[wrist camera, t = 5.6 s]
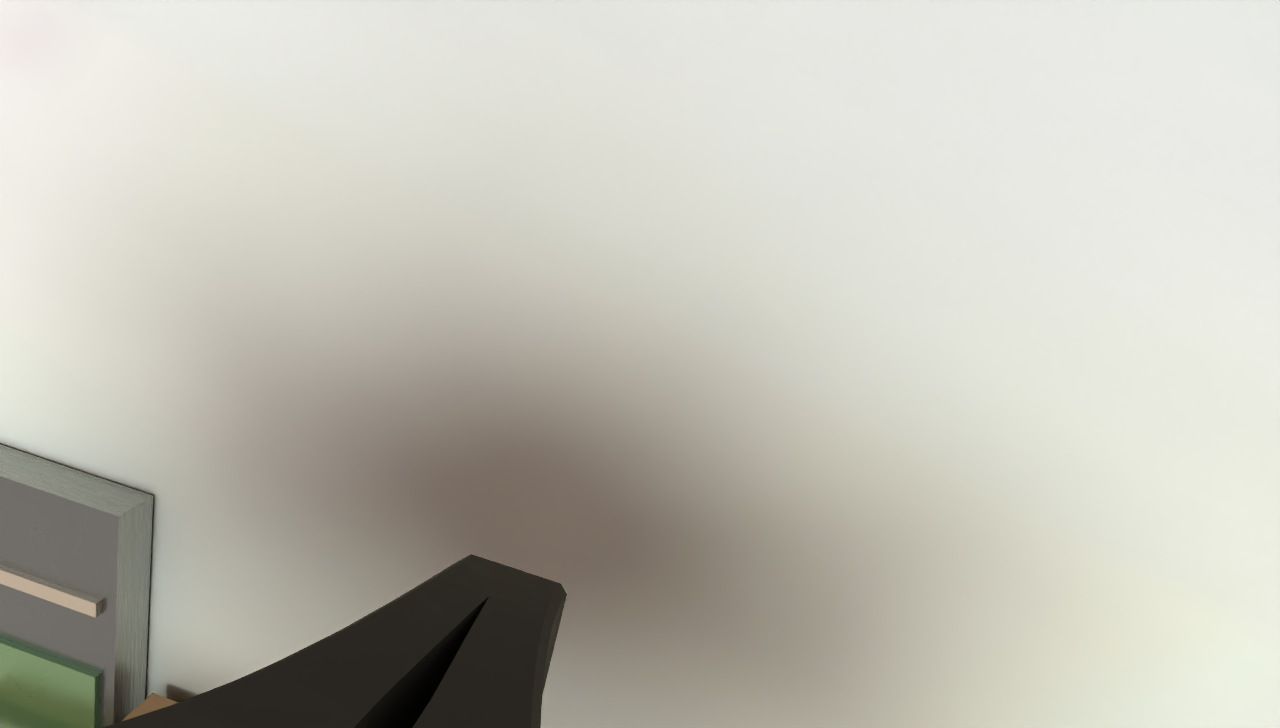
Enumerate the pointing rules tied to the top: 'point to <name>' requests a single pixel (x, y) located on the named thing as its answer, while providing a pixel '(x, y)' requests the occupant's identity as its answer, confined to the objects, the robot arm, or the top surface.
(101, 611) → the gauge frame
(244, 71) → the top surface
